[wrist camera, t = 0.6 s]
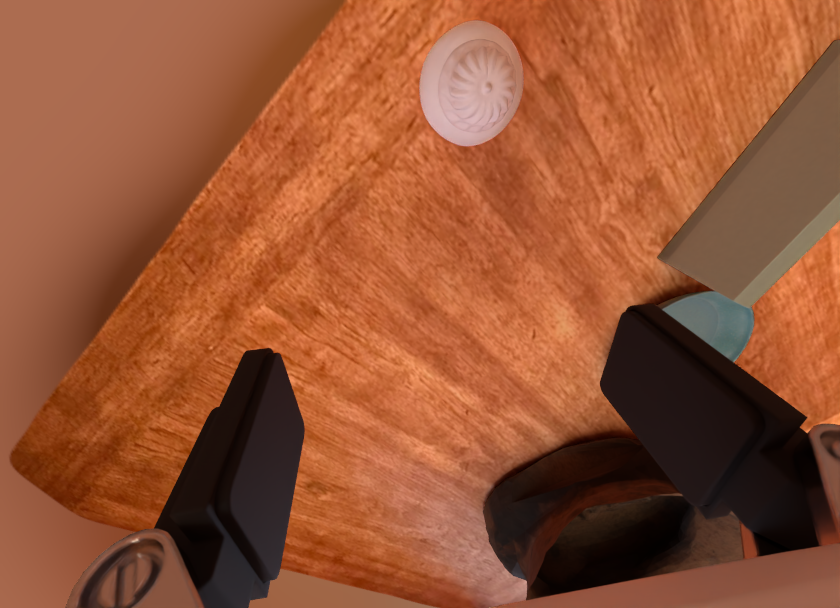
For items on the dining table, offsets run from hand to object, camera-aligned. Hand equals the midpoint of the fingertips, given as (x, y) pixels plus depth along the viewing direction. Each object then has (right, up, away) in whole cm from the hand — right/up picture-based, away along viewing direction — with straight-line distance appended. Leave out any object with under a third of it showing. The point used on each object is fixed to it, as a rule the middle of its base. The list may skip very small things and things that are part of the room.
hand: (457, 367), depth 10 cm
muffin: (+2, +16, +14) cm, 21 cm away
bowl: (+24, -26, +43) cm, 56 cm away
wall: (+27, +13, +20) cm, 36 cm away
